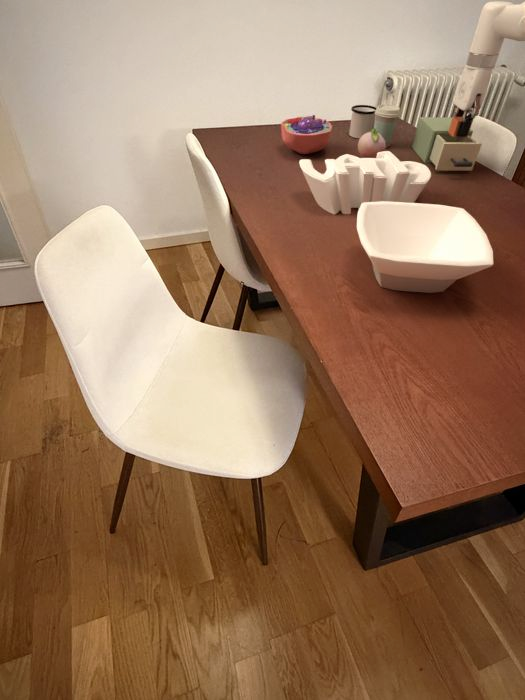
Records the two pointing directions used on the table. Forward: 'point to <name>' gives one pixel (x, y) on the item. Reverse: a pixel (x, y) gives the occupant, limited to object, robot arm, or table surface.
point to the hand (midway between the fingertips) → (458, 132)
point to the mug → (361, 120)
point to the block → (455, 126)
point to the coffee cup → (386, 121)
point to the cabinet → (430, 134)
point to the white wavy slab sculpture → (364, 181)
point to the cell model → (305, 134)
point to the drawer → (454, 152)
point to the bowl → (421, 244)
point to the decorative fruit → (371, 144)
